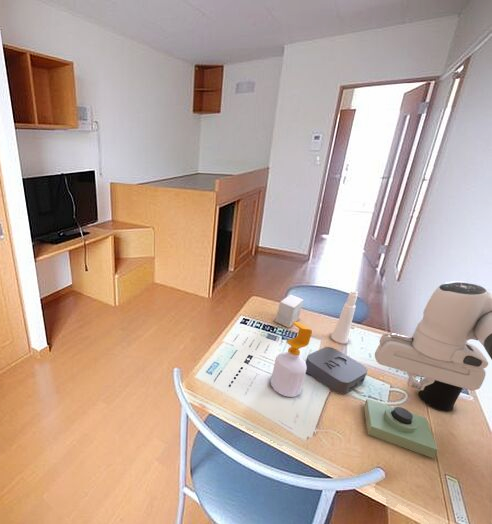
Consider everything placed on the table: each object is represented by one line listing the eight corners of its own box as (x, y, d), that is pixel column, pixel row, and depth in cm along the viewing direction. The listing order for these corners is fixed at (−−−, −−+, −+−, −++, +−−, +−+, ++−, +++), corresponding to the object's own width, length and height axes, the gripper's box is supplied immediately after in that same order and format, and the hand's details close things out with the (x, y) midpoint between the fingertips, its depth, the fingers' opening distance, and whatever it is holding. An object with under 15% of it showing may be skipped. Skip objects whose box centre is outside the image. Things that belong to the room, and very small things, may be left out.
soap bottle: (264, 380, 102) (277, 319, 93) (285, 374, 105) (300, 313, 96) (284, 400, 95) (301, 335, 85) (306, 393, 98) (325, 329, 88)
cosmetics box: (289, 328, 131) (294, 307, 127) (274, 322, 135) (279, 301, 131) (299, 319, 137) (304, 299, 133) (285, 313, 142) (289, 293, 138)
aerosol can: (427, 408, 93) (454, 356, 85) (412, 388, 100) (435, 338, 92) (459, 414, 91) (490, 361, 83) (441, 393, 98) (468, 342, 90)
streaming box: (325, 356, 114) (329, 345, 112) (366, 381, 103) (371, 369, 101) (300, 368, 108) (303, 357, 106) (340, 397, 96) (345, 385, 94)
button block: (422, 425, 87) (428, 413, 85) (433, 458, 78) (440, 445, 76) (363, 406, 93) (368, 393, 91) (367, 434, 84) (373, 421, 82)
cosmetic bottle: (348, 345, 120) (364, 296, 112) (330, 340, 123) (345, 292, 115) (347, 337, 125) (363, 290, 117) (331, 333, 128) (345, 286, 120)
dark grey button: (408, 415, 85) (411, 410, 84) (411, 426, 81) (414, 421, 81) (390, 410, 86) (393, 404, 86) (393, 420, 83) (395, 415, 82)
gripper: (385, 337, 76) (368, 379, 82) (498, 366, 67) (471, 411, 73) (381, 324, 81) (365, 365, 87) (486, 350, 72) (461, 393, 78)
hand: (414, 386), depth 80 cm, fingers closed
